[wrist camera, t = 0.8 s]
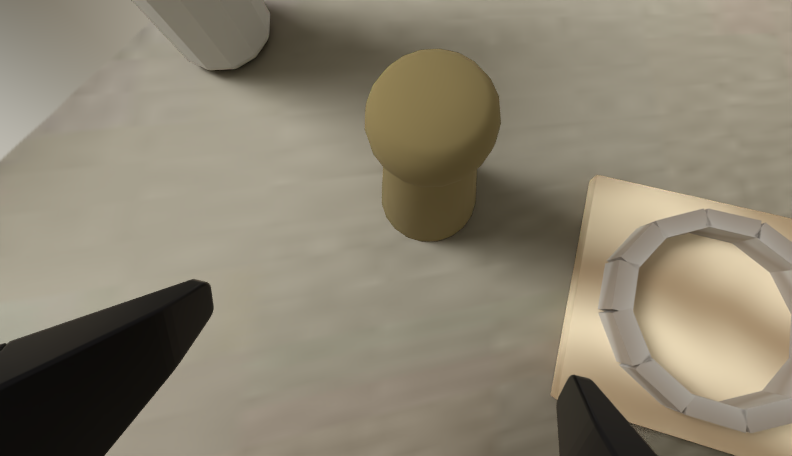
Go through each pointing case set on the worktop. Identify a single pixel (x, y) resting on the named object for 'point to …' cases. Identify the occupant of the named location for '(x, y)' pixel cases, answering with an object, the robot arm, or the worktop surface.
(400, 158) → the cork
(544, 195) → the worktop surface
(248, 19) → the water bottle
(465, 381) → the worktop surface
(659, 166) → the worktop surface
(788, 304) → the seat
